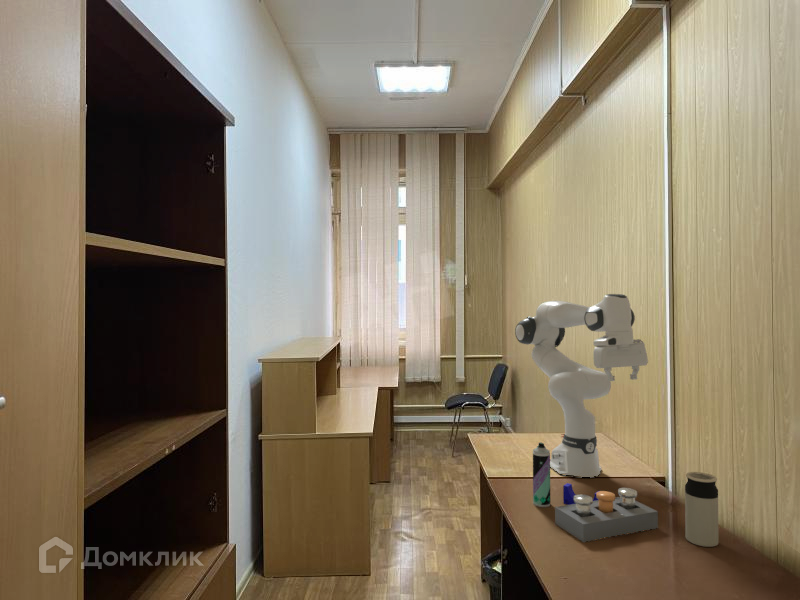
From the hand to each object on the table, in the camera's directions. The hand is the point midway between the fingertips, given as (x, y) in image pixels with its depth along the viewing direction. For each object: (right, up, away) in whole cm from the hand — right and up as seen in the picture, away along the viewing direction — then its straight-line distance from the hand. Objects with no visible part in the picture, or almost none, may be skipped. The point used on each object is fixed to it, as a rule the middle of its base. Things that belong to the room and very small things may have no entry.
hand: (622, 380), depth 185 cm
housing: (-16, -39, -26) cm, 50 cm away
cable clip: (-17, -40, -11) cm, 44 cm away
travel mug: (+7, -39, -37) cm, 54 cm away
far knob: (-8, -36, -24) cm, 44 cm away
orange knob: (-16, -36, -26) cm, 47 cm away
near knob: (-23, -36, -29) cm, 52 cm away
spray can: (-30, -39, -9) cm, 50 cm away
